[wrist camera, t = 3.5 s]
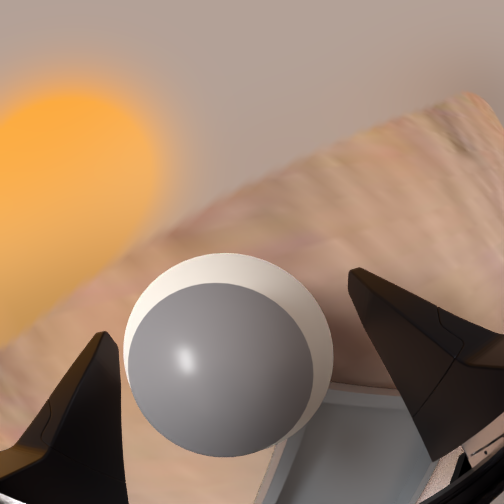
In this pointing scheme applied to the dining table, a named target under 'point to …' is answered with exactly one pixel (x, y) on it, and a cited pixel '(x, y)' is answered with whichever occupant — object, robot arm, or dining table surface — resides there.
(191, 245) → the dining table surface
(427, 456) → the dish
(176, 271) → the bottle
